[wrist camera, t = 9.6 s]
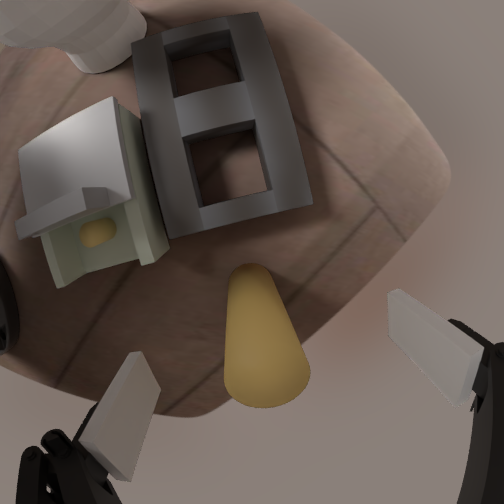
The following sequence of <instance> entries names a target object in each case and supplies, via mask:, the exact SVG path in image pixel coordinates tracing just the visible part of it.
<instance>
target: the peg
mask: <svg viewBox="0 0 504 504" xmlns="http://www.w3.org/2000/svg"><path fill="white" fill-rule="evenodd" d="M309 378H310V366H309V363H308V361H307V358H306V356H305V354H304V351H303V349H302V347H301V344H300V342H299V339H298V337H297V335H296V332H295V330H294V328H293V325H292V323H291V321H290V318H289V316H288V314H287V311H286V309H285V307H284V304H283V302H282V300H281V298H280V295H279V293H278V291H277V288H276V286H275V284H274V281H273V279H272V277H271V275H270V273H269V271H268V270H267V269H266V268H264V267H263V266H261V265H258V264H254V263H248V264H244V265H241V266H239V267H238V268H236V269H235V270H234V271H233V273H232V274H231V276H230V278H229V284H228V301H227V320H226V340H225V363H224V384H225V387H226V389H227V391H228V393H229V394H230V395H231V396H232V397H233V398H234V399H235V400H236V401H238V402H240V403H242V404H244V405H246V406H250V407H255V408H271V407H276V406H280V405H283V404H285V403H288V402H290V401H291V400H293V399H295V397H297V396H298V395H299V394H300V393H301V392H302V391H303V390H304V389H305V387H306V386H307V384H308V381H309Z"/></svg>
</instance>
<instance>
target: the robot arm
mask: <svg viewBox="0 0 504 504" xmlns="http://www.w3.org/2000/svg"><path fill="white" fill-rule="evenodd" d="M387 299H388V336H389V337H390V338H391V340H392V341H393V342H395V344H396V345H397V346H398V347H399V348H400V349H401V350H402V351H403V352H404V353H405V354H406V355H407V356H408V357H409V358H410V359H411V360H412V362H413V363H414V364H415V365H416V366H417V367H418V368H419V369H420V370H421V371H422V372H423V373H424V374H425V375H426V376H427V378H429V380H430V381H431V382H432V383H433V384H434V385H435V386H436V387H437V389H438V390H439V391H440V392H441V393H442V394H443V395H444V396H445V397H446V399H447V400H448V401H449V402H450V403H451V404H452V405H453V407H454V408H457V407H458V406H460V405H461V404H463V403H464V402H466V401H467V400H468V399H469V396H470V394H471V391H472V390H473V391H474V392H475V393H476V396H475V399H474V401H473V404H472V406H471V409H470V411H472V410H473V408H474V418H473V427H472V436H471V443H470V449H469V455H468V461H467V466H466V471H465V475H464V479H463V483H462V487H461V491H460V494H459V498H458V501H457V504H504V342H501V343H496V344H495V345H494V344H492V343H491V342H490V341H488V340H487V339H485V338H484V337H482V336H481V335H480V334H478V333H477V332H474V331H473V330H472V329H471V328H468V326H467V325H465V324H464V323H462V322H461V321H457V320H454V319H450V320H448V321H447V320H445V319H444V318H443V317H441V316H440V315H438V314H437V313H435V312H434V311H432V310H431V309H429V308H428V307H426V306H425V305H424V304H422V303H421V302H419V301H417V300H416V299H415V298H413V297H412V296H410V295H408V294H407V293H406V292H404V291H402V290H401V289H399V288H398V289H395V290H393V291H390V292H387ZM18 336H19V316H18V310H17V305H16V300H15V297H14V293H13V290H12V287H11V284H10V281H9V279H8V276H7V274H6V272H5V269H4V267H3V265H2V263H1V261H0V355H3V354H4V353H6V352H7V351H8V350H9V349H10V348H12V347H13V346H14V345H15V344H16V342H17V339H18ZM160 392H161V388H160V386H159V385H158V383H157V381H156V379H155V377H154V375H153V373H152V371H151V369H150V367H149V365H148V363H147V361H146V359H145V357H144V355H143V353H142V351H137V352H130V353H129V354H128V356H127V358H126V359H125V361H124V363H123V364H122V366H121V367H120V369H119V371H118V372H117V374H116V376H115V377H114V379H113V381H112V382H111V384H110V386H109V387H108V389H107V391H106V392H105V394H104V396H103V397H102V399H101V401H100V402H97V403H96V404H95V405H94V406H93V407H92V408H91V409H90V410H89V412H88V414H87V416H86V418H85V419H84V421H83V424H81V426H80V428H79V429H78V431H77V433H76V435H75V436H74V438H73V440H72V442H71V440H70V439H69V438H68V437H67V436H66V435H65V434H64V432H63V431H62V430H60V429H53V430H50V431H48V432H47V433H46V434H45V435H44V436H43V437H42V439H41V445H42V446H43V447H44V448H45V450H46V451H47V452H48V454H44V453H43V451H42V450H41V449H40V448H39V447H37V446H31V447H28V448H27V449H25V451H24V452H23V454H22V456H21V462H20V468H19V475H18V483H17V493H16V504H122V503H121V501H120V499H119V497H118V496H117V493H116V492H115V490H114V488H113V486H112V484H111V482H110V481H109V480H108V479H107V475H108V473H110V474H111V475H112V476H113V477H114V478H115V479H116V480H121V481H128V482H131V480H132V476H133V473H134V470H135V466H136V464H137V460H138V457H139V454H140V451H141V447H142V445H143V441H144V438H145V435H146V432H147V429H148V426H149V423H150V420H151V417H152V415H153V412H154V409H155V406H156V403H157V400H158V397H159V394H160ZM46 486H48V487H49V488H50V489H51V492H50V493H49V492H48V491H47V490H46V488H47V487H46Z"/></svg>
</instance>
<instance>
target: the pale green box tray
mask: <svg viewBox="0 0 504 504" xmlns="http://www.w3.org/2000/svg"><path fill="white" fill-rule="evenodd" d="M118 109H119V116H120V122H121V129H122V135H123V140H124V146H125V151H126V156H127V161H128V166H129V171H130V175H131V180H132V184H133V188H134V193H135V197H136V198H135V199H132V200H129V201H126V202H123V203H120V204H117V205H115V206H112V207H109V208H106V209H104V210H101V211H98V212H96V213H93V214H90V215H88V216H85V217H83V218H80V219H78V220H75V221H73V222H70V223H68V224H66V225H63V226H61V227H59V228H56V229H54V230H52V231H49V232H47V233H45V234H43V235H41V236H40V237H41V240H42V244H43V248H44V251H45V255H46V258H47V261H48V264H49V267H50V271H51V274H52V276H53V279H54V282H55V285H56V288H57V289H58V288H61V287H65V286H67V285H68V284H70V283H71V282H73V281H75V280H76V279H78V278H79V277H81V276H83V275H84V274H86V273H90V272H93V271H97V270H100V269H104V268H107V267H111V266H114V265H118V264H121V263H125V262H129V261H132V260H136V259H139V260H140V263H141V266H143V265H146V264H150V263H154V262H156V261H157V260H158V259H159V258H160V257H161V256H162V255H163V254H164V253H166V252H167V251H168V250H169V249H170V246H169V243H168V239H167V236H166V232H165V229H164V225H163V221H162V217H161V214H160V210H159V206H158V202H157V198H156V194H155V190H154V186H153V182H152V177H151V173H150V169H149V164H148V159H147V155H146V150H145V145H144V140H143V135H142V130H141V124H140V119H139V118H138V117H136V116H135V115H134V114H132V113H131V112H130V111H128V110H127V109H126V108H124V107H123V106H121V105H120V104H118Z"/></svg>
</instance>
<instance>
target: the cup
mask: <svg viewBox="0 0 504 504" xmlns="http://www.w3.org/2000/svg"><path fill="white" fill-rule="evenodd" d="M146 31H147V23H146V21H145V18H144V17H143V16H142V14H141V13H140V12H139V11H138V10H137V9H136V8H135V7H134V6H133V5H132V4H131V3H130V2H129V1H128V0H0V42H1V43H3V44H5V45H7V46H9V47H20V48H30V49H33V48H44V47H55V48H58V49H60V50H62V51H65V52H66V53H67V55H68V56H69V57H70V59H71V60H72V61H73V63H74V64H75V65H76V66H77V67H78V68H79V69H80V70H81V71H83V72H85V73H92V74H95V73H100V72H104V71H107V70H109V69H112V68H114V67H115V66H117V65H119V64H120V63H122V62H123V61H125V60H126V59H127V58H128V57H130V56H131V55H132V50H131V43H132V42H135V41H137V40H140V39H143V38H144V37H145V34H146Z"/></svg>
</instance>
